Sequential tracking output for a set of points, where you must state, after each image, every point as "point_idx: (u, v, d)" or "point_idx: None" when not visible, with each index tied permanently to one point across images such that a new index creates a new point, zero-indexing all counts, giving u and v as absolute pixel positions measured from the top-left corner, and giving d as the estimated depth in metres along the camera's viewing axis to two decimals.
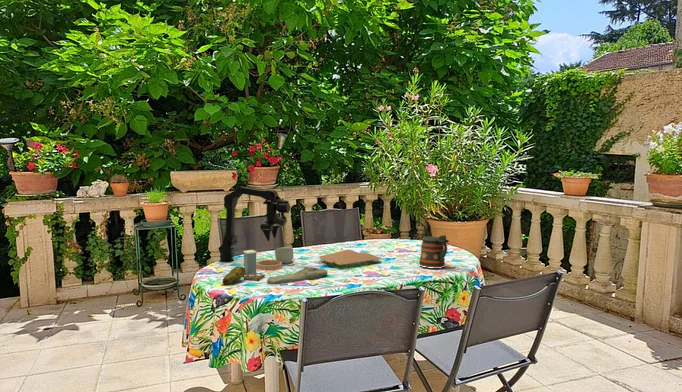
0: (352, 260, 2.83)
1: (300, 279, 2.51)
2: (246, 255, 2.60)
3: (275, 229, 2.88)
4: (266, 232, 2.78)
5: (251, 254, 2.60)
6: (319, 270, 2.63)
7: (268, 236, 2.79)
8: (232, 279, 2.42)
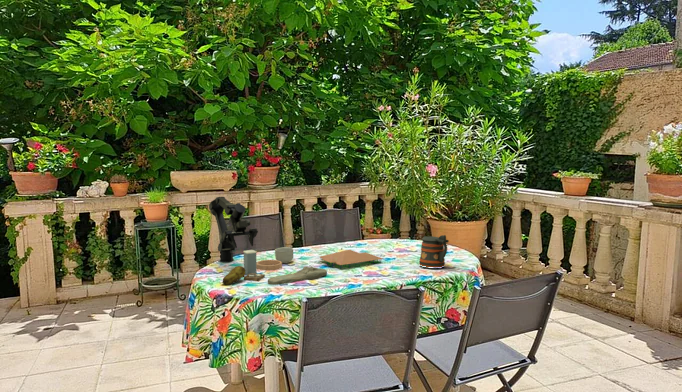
0: (353, 260, 2.83)
1: (301, 279, 2.51)
2: (246, 255, 2.60)
3: (250, 238, 2.74)
4: (231, 241, 2.69)
5: (251, 254, 2.60)
6: (318, 270, 2.64)
7: (233, 243, 2.67)
8: (232, 279, 2.42)
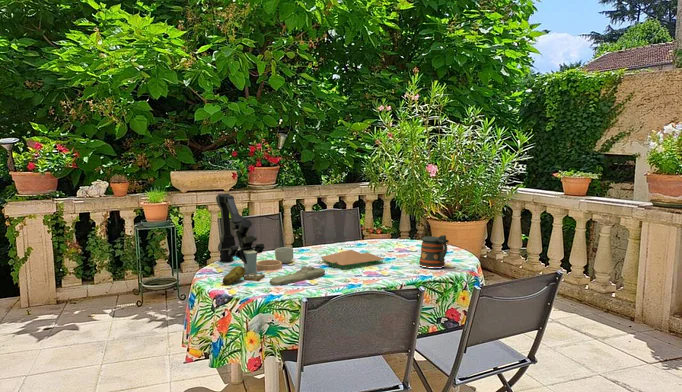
0: (354, 260, 2.82)
1: (302, 279, 2.52)
2: (246, 255, 2.60)
3: None
4: (241, 256, 2.62)
5: (251, 254, 2.60)
6: (317, 269, 2.65)
7: (243, 259, 2.61)
8: (232, 279, 2.42)
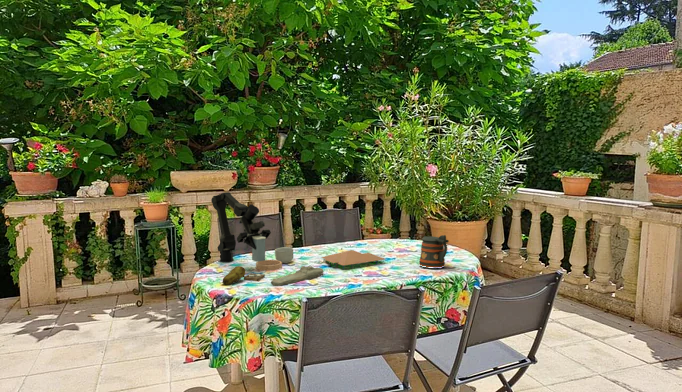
0: (355, 261, 2.82)
1: (302, 279, 2.52)
2: (256, 241, 2.64)
3: None
4: (249, 242, 2.66)
5: (261, 240, 2.65)
6: (315, 269, 2.65)
7: (252, 244, 2.65)
8: (232, 279, 2.42)
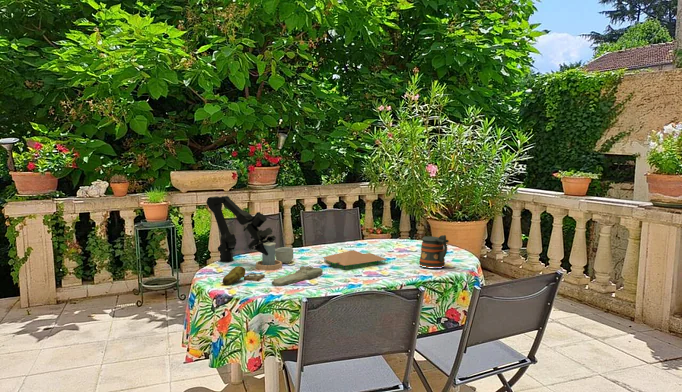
0: (356, 261, 2.81)
1: (303, 279, 2.52)
2: (267, 247, 2.74)
3: None
4: (260, 249, 2.75)
5: (272, 245, 2.75)
6: (315, 269, 2.66)
7: (264, 251, 2.74)
8: (232, 279, 2.42)
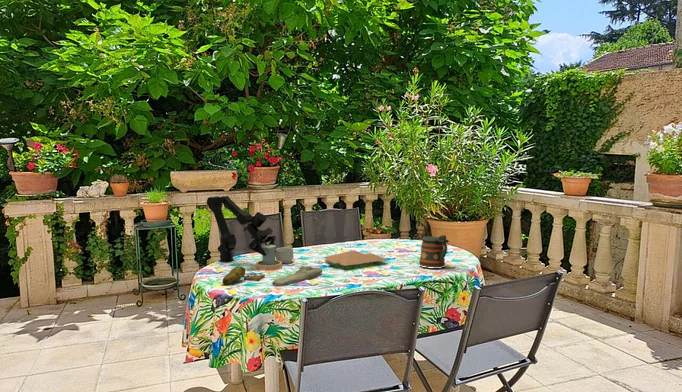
0: (357, 261, 2.81)
1: (303, 279, 2.52)
2: (267, 249, 2.74)
3: None
4: (258, 249, 2.73)
5: (272, 248, 2.75)
6: (314, 269, 2.66)
7: (262, 251, 2.72)
8: (232, 279, 2.42)
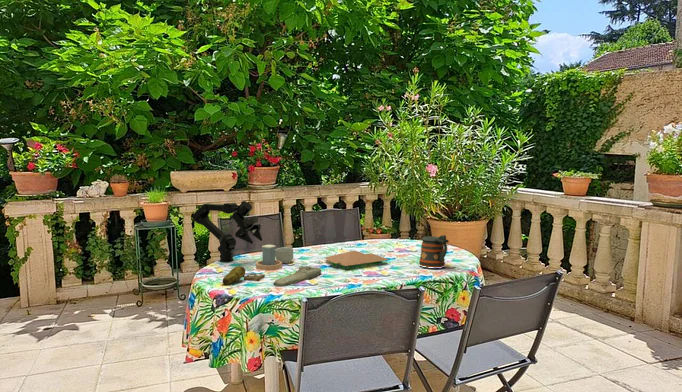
0: (358, 261, 2.81)
1: (304, 279, 2.52)
2: (267, 249, 2.74)
3: (257, 233, 2.87)
4: (245, 237, 2.78)
5: (272, 248, 2.75)
6: (313, 268, 2.66)
7: (249, 239, 2.77)
8: (232, 279, 2.42)
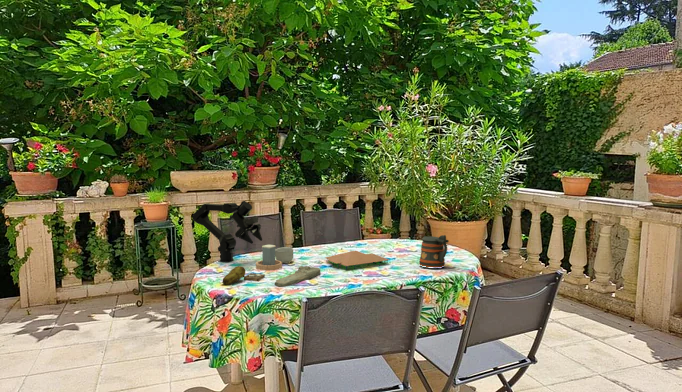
0: (359, 261, 2.80)
1: (304, 279, 2.52)
2: (267, 249, 2.74)
3: (257, 233, 2.87)
4: (245, 237, 2.78)
5: (272, 248, 2.75)
6: (313, 268, 2.67)
7: (249, 239, 2.77)
8: (232, 279, 2.42)
